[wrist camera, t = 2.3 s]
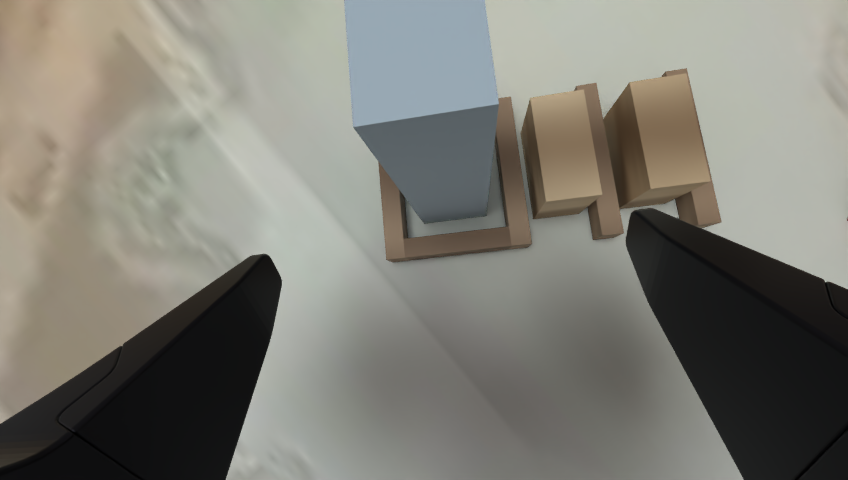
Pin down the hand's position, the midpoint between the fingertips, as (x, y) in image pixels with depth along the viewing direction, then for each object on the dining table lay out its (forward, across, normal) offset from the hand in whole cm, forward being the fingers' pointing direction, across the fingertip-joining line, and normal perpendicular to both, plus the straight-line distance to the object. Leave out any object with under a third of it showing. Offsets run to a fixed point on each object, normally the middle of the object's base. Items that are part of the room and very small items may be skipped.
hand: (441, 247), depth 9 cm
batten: (+12, 0, +5) cm, 13 cm away
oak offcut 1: (+12, -5, +5) cm, 14 cm away
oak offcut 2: (+12, -10, +5) cm, 16 cm away
